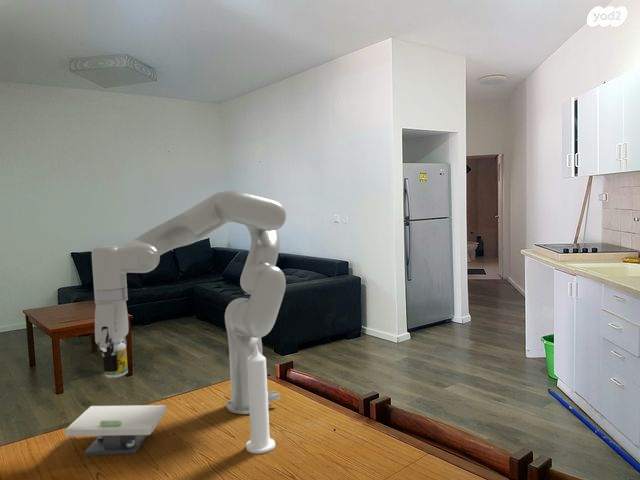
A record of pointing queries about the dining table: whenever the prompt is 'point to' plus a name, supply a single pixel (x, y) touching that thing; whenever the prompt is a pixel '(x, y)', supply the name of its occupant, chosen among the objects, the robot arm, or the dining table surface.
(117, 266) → the robot arm
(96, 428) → the level board
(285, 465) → the dining table surface
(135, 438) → the tribrach base
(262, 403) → the candle
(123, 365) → the supplement bottle
